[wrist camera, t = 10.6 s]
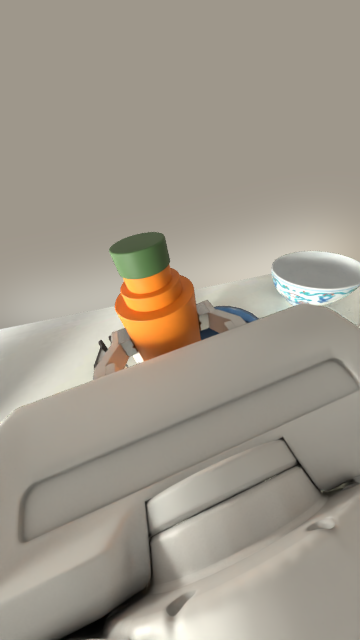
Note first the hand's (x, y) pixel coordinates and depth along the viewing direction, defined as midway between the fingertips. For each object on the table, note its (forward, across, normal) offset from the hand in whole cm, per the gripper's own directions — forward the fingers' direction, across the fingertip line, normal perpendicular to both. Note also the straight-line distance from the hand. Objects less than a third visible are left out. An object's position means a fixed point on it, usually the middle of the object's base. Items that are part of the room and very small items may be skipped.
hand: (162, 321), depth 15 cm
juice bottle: (-1, 0, +8) cm, 8 cm away
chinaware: (+11, -32, +17) cm, 38 cm away
